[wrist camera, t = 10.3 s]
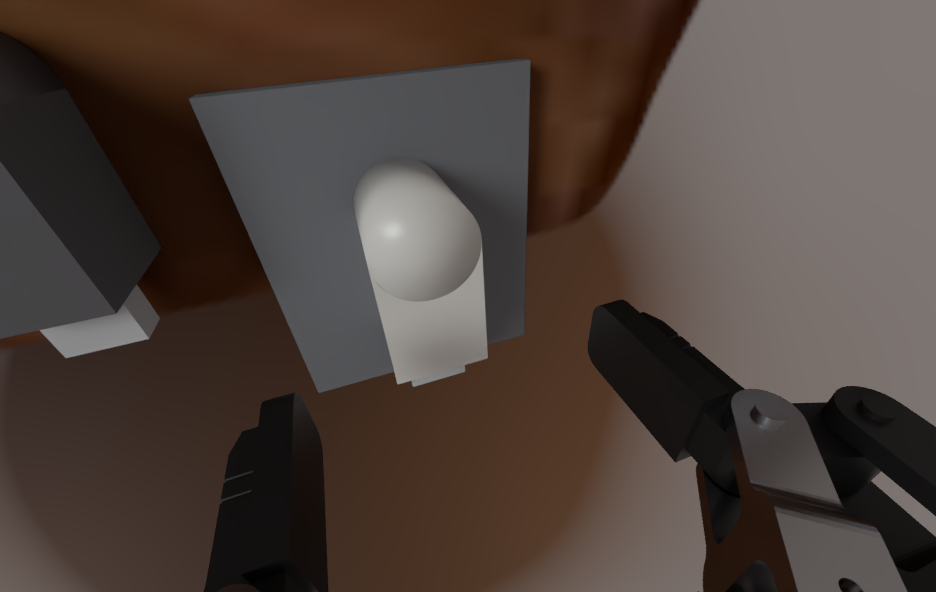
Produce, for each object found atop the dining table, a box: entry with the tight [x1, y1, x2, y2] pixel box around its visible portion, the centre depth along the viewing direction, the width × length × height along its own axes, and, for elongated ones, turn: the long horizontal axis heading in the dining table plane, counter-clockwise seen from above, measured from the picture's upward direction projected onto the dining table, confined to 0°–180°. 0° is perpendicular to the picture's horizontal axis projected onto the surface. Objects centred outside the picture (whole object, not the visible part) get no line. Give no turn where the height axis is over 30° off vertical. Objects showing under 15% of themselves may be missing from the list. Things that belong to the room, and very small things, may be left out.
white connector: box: [353, 156, 488, 387], centre depth 15 cm, size 9×4×4 cm, turn 4°
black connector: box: [0, 32, 162, 358], centre depth 11 cm, size 9×4×4 cm, turn 4°
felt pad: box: [189, 58, 531, 393], centre depth 17 cm, size 13×11×1 cm
